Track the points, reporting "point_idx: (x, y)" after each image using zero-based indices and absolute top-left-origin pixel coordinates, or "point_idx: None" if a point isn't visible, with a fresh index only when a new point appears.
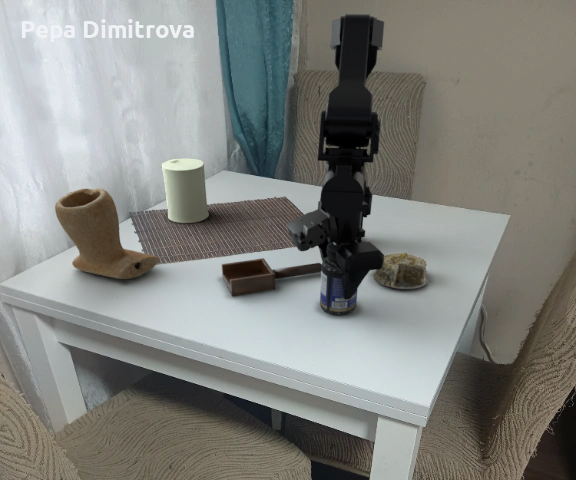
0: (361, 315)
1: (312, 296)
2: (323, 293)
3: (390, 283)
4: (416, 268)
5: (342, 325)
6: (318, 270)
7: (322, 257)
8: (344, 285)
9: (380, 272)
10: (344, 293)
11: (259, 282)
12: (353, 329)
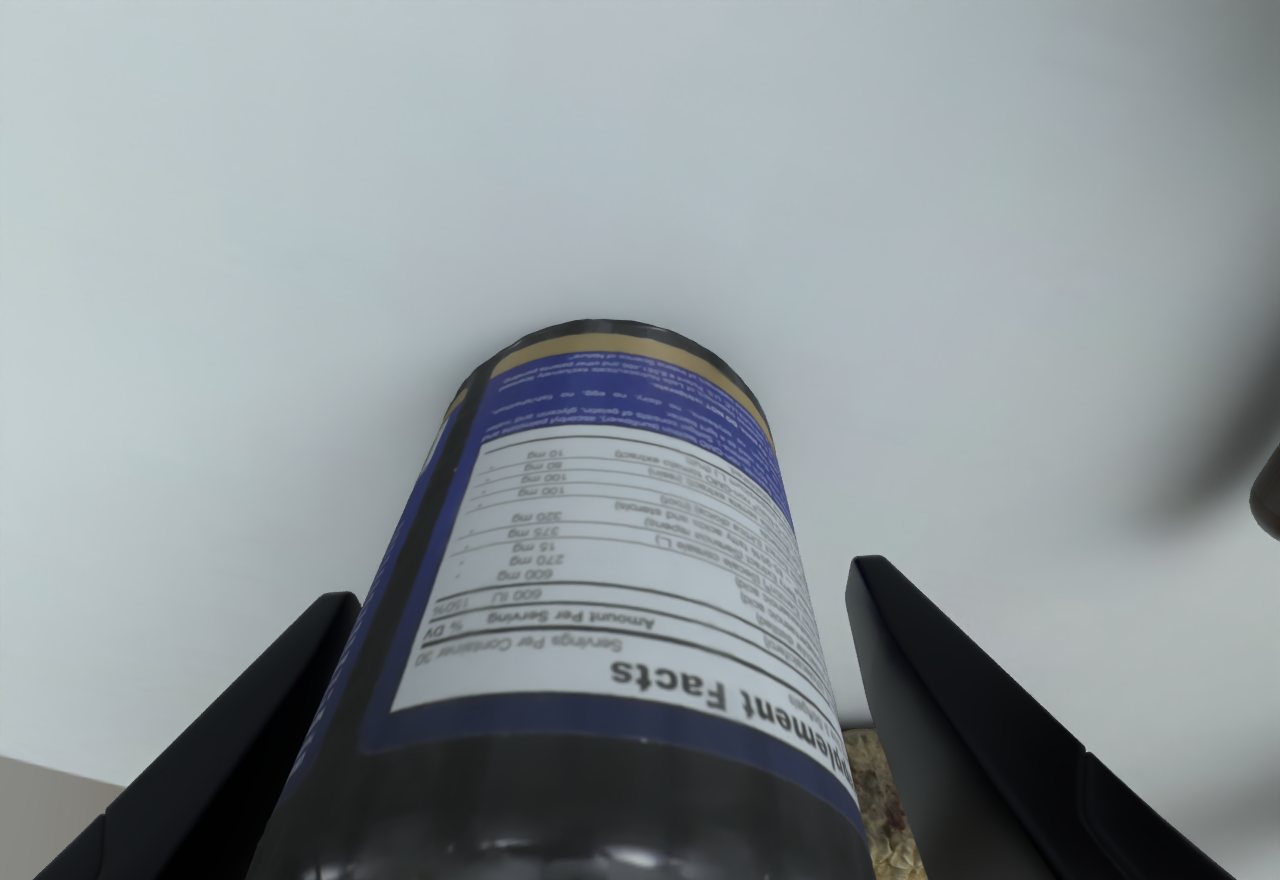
0: None
1: (898, 301)
2: (526, 439)
3: None
4: None
5: (291, 403)
6: (1271, 489)
7: (1068, 812)
8: (133, 787)
9: (869, 801)
10: (256, 661)
11: None
12: (228, 460)
